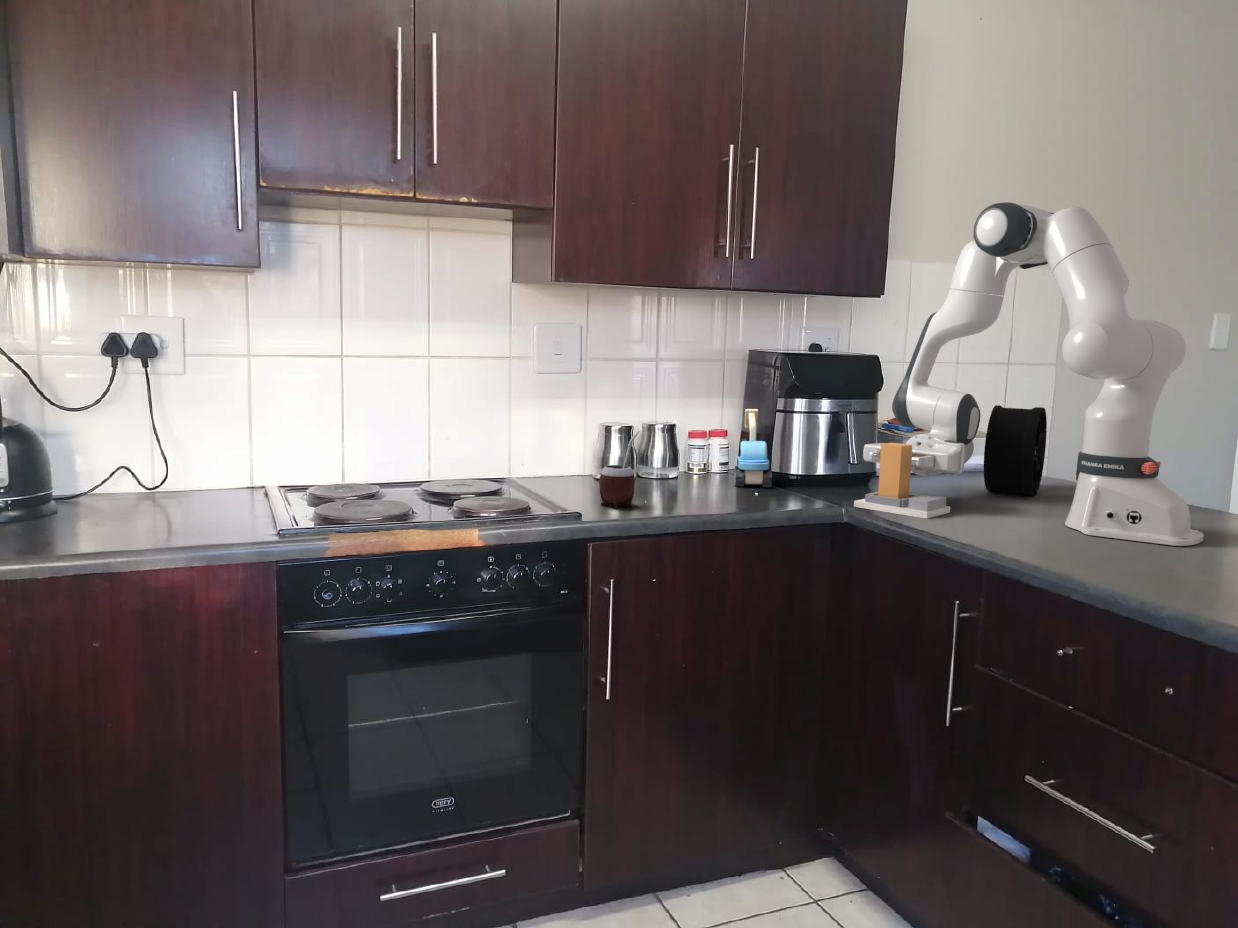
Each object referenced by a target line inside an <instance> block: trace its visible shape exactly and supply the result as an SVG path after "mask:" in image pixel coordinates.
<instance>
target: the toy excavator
mask: <svg viewBox="0 0 1238 928" xmlns="http://www.w3.org/2000/svg"><path fill="white" fill-rule="evenodd" d="M758 419H759V409H758V408H754V409H753V408H745V410H744V429H749V440H743V441H741V442H740V446H739V447H740V449H739V450H740V456H739V455H738V457H737V465H735V466H734V474H733V478H734V487H735V488H736V487H737V488H738V487H740V488H741V487H744V486H745V485H762V487H763V488H771V487H772V484H773V481H772V480H773V471H772V467H771V466H770V460H769V458H768V445H767V442H766V441H764V440H757V429H758V421H759V420H758Z"/></svg>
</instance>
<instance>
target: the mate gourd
mask: <svg viewBox="0 0 1238 928" xmlns="http://www.w3.org/2000/svg"><path fill="white" fill-rule="evenodd" d="M640 432H641V431H640V430H639V429H638V430H637V431H636V432H635V433H634V435H632V437H631V439H630V440H629V441H628V444H627V451H626V453H625V458H624V462H623V465H620V464H612V465H611V464H610V465H605V466H604V467H603V468H602V469H601V472H600V475H599V480H598V483H599V484H598V485H599V495H600V499H601V503H600V506H601V507H612V509H613V510H618V508H632V507H633V504H632V501H633V499H634V498H633V497H634V496H635V495H634V494H635V485H636V484H635V482H636V481H635V473H634V470H633V469H632V467H631V466H628V465H627V464H628V460H629V456H630V451H631V449H632V446H633V442H634V441H635V438H636V437H637V436H638V435H639V433H640Z"/></svg>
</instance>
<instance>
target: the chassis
mask: <svg viewBox="0 0 1238 928" xmlns="http://www.w3.org/2000/svg"><path fill="white" fill-rule="evenodd" d="M853 507H854V508H861V509H866V510H873V511H877V512H883V513H891V514H897V515H901V516H907V517H908V516H909V517H914V518H921V519H931V518H934V517H939V516H942V515H945V514H949V513H951V506H949V505H948V506H947V496H942V495H933V494H922V495H920V494H919V495H918V494H913V493H909V497H907V498H903V499H896V498H889V497H883V496H878V491H876V492H870V493H866V494H864V498H862V499H856V500H853Z"/></svg>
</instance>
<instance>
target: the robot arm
mask: <svg viewBox="0 0 1238 928" xmlns="http://www.w3.org/2000/svg"><path fill="white" fill-rule="evenodd" d="M972 231H973V234H972V235H973V240H971V241H970V242H968V243H966V244H965V245H964V246H963V248H962V250H961V252H960V254H959V257H958V258H957V259H958V260H957V262H956V264H955V267H954V271H953V273H952V277H951V281H950V285H949V290H948V293H947V296H946V299H945V301H944V303H943V304H942V306H941V307H940V308H939V309H938V310H937V311H935V312H932V313H931V314H930V316H929V317H928V318H927V320H926V322H925V323H924V326H923V329H921V330H922V331H921V333H920V335H919V338H918V340H917V343H916V345H915V349H914V350H913V353H912V355H911V359H910V360H909V364H908V367H907V369H906V372H905V374H904V376H903V379H902V381H901V383H900V385H899V387H898V389H897V390H896V392H895V394H894V398H893V400H892V406H891V410H892V413H893V415H894V417H895V419H896V420H897V422H898V424H900V425H901V426H902V427H905V428H913V429H922V430H925V431H929V433H921V434H916V435H913V436H912V437H910V438H908V440H907V441H906V443H905V444H909V445H912V458H911V472H912V473H913V474H915V475H917V476H928V475H929V476H930V475H932V476H933V475H938V474H946V475H947V474H948V475H949V474H950V475H960V474H963V472H964V468H965V464H966V463H968V462H969V460H970V459H971V458H972V456H973V453H974V448H975V446H974V441H973V440H974V439H975V437H976V435H977V433H978V431H979V428H980V427H979V426H980V423H981V410H980V407H979V404H978V402H977V400H976V399H975V397H974V396H973V395H972V394H971V393H966V392H962V391H959V390H958V391H957V390H953V389H946V388H942V387H936V386H931V385H929V384H928V380H929V377H930V375H931V373H932V370H933V368H934V365H935V362H936V360H937V358H938V355H939V352H940V350H941V349H942V348H943V347H944V345H945V344H947V343H949V342H950V341H953V340H956V339H959V338H965V337H969V336H973V335H976V334H979V333H981V332H984V331H986V330H987V329H989V328H990V327H992V325H994V324H995V323H996V322H997V321H998V318H999V315H1000V313H1001V310H1002V307H1003V302H1004V296H1005V292H1006V287H1007V282H1008V279H1009V276H1010V274H1011V272H1013V271H1014V269H1016V268H1017V267H1019V268H1020V269H1022V270H1027V269H1028V270H1029V269H1031V268H1035V267H1040V266H1045V265H1048V267H1049V269H1050V271H1051V273H1052V276H1053V278H1054V281H1055V282H1056V285H1057V288H1058V289H1059V293H1061V295H1062V299H1063V301H1064V304H1065V306H1066V309H1067V313H1068V314H1067V315H1068V321H1069V322H1068V323H1069V328H1068V329H1069V330H1068V331H1067V333H1066V335H1065V337H1064V340H1063V341H1062V346H1061V355H1062V359H1063V361H1064V363H1065V365H1066V367H1067V368H1068V369H1069V370H1070V371H1072V373H1075V374H1077V375H1080V376H1082V377H1086V378H1091V379H1094V380H1104V383H1103V386H1102V387H1101V389H1100V392H1099V394H1098V396H1097V397H1096V399H1095V400H1094V401H1093V402H1092V403H1091V404H1090V405H1089V406H1087V408H1086V410H1085V412H1084V417H1083V427H1082V439H1081V450H1080V451H1079V452H1078V453H1077V454H1078V455H1077V459H1076V467H1075V475H1076V477H1075V479H1076V480H1075V481H1076V486H1075V492H1074V495H1073V499H1072V503H1071V506H1070V509H1069V512H1068V515H1067V518H1066V520H1065V522H1064V525H1065V527H1068V528H1071V529H1074V530H1077V531H1079V532H1081V533H1083V534H1085V535H1088V536H1095V537H1101V538H1102V537H1103V538H1113V539H1118V540H1126V541H1127V540H1128V541H1134V542H1143V543H1150V544H1160V545H1166V546H1167V545H1168V546H1173V547H1174V546H1176V547H1185V546H1187V547H1188V546H1194V545H1198V544H1200V543H1202V542H1203V541H1204V533H1203V532H1202V531H1200V530H1196V529H1191V514H1190V512H1191V511H1190V508H1189V505H1188V503H1187V502H1186V501H1185V500H1184V499H1183V498H1181V497H1180V496H1179V495H1178V494H1176V493H1175V492H1174V491H1173V490H1172V489H1170V488H1169V487H1168V486H1167V485H1166V484H1164V483H1163V482H1162V481H1161V480H1160V479H1159V478H1158V477H1159V472H1160V468H1161V464H1162V462H1161V461H1157V460H1155V459H1153V458H1152V457H1150V455H1149V451H1150V449H1149V448H1150V441H1151V433H1152V425H1153V419H1154V414H1155V410H1156V408H1157V404H1158V403H1159V399H1160V396H1161V394H1162V392H1163V390H1164V387H1165V385H1166V384H1167V382H1168V379H1169V377H1171V375H1172V374H1173V372H1175V371H1176V370H1177V369H1178V368H1179V367H1180V366H1181V364H1182V363H1183V361H1184V358H1185V355H1186V352H1187V351H1186V350H1187V349H1186V342H1185V339H1184V336H1183V334H1182V333H1181V332H1180V331H1179V330H1177V328H1175V327H1173V326H1170V325H1168V324H1165V323H1163V322H1160V321H1157V320H1152V319H1151V320H1150V319H1146V320H1145V319H1133V318H1132V317H1131V316H1130V315H1129V314H1128V311H1127V308H1126V304H1125V295H1126V293H1127V292H1128V290H1129V286H1130V280H1129V278H1128V276H1127V274H1126V272H1125V269H1124V266H1122V263H1121V261H1120V259H1119V257H1118V255H1117V253H1116V251H1115V249H1114V247H1113V245H1112V243H1111V241H1110V239H1109V238H1108V235H1107V234H1106V233H1105V231H1104V229H1103V228H1102V227H1101V225H1100V224H1099V222H1098V221H1097V220H1096V218H1095V217H1094V216H1093V215H1092V214H1091V213H1090V212H1089V211H1088V209H1085V208H1083V207H1080V206H1070V207H1066V208H1062V209H1060V210H1057V211H1056V212H1052V211H1051V212H1050V211H1046V210H1044V209H1041V208H1038V207H1036V206H1033V205H1028V204H1017V203H1014V202H1009V201H1008V202H1006V201H1005V202H997V203H992V204H991V205H988V206H986V207H985V208H984V209H983V210H981V212H980V214H978V216H977V218H976V220H975V222H974V226H973V230H972ZM881 444H886V442H885V443H884V442H879V443H877V442H876V443H867V444H866V443H865V444H864V445H863V450H862V452H863V454H862V457H863V459H862V460H863V461H864V462H869V463H870V462H871V463H878V464H880V455H881Z"/></svg>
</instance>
